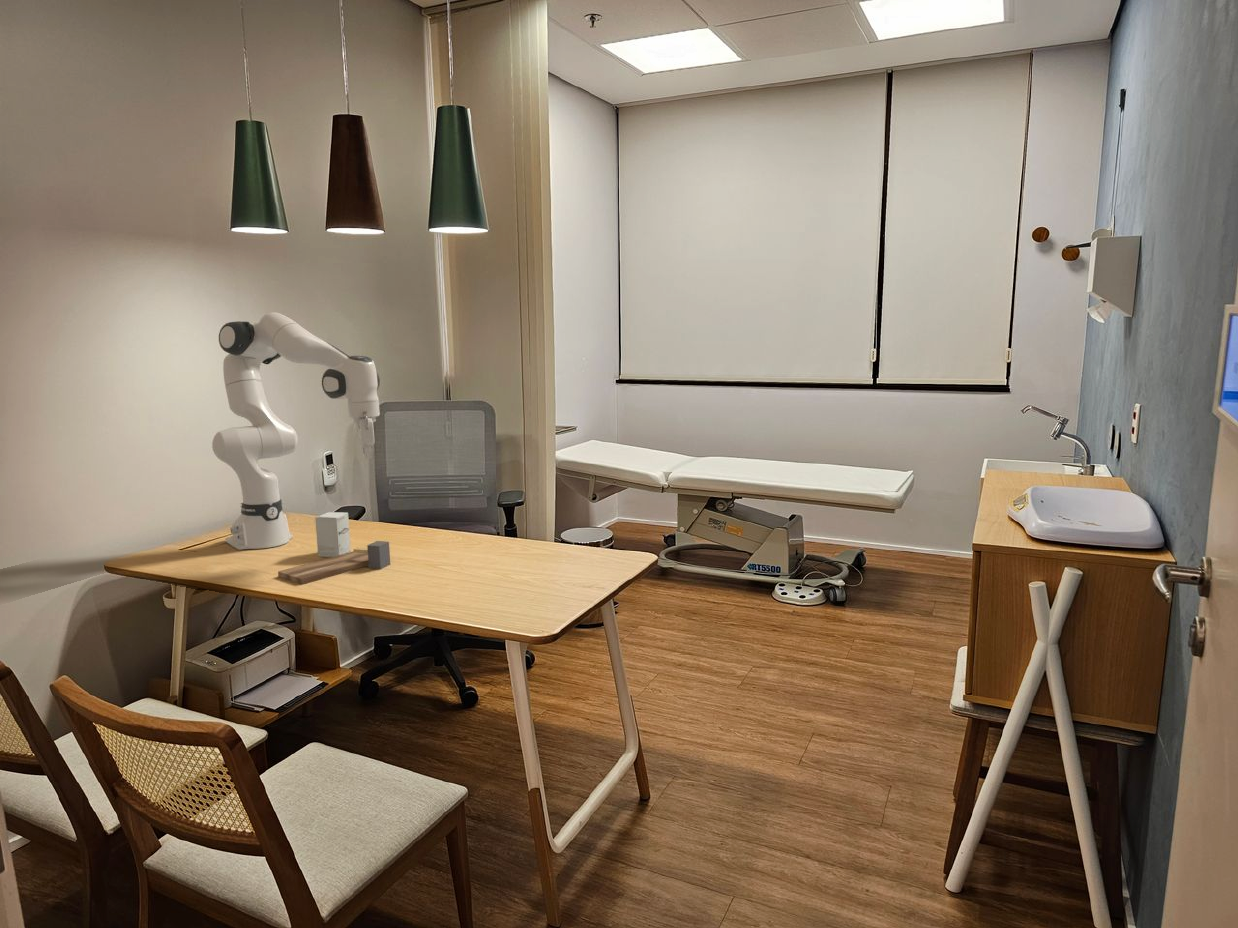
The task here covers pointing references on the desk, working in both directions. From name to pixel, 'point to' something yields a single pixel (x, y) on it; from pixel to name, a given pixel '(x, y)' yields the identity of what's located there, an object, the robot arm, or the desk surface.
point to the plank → (325, 568)
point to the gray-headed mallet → (376, 554)
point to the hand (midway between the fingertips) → (367, 456)
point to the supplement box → (332, 534)
